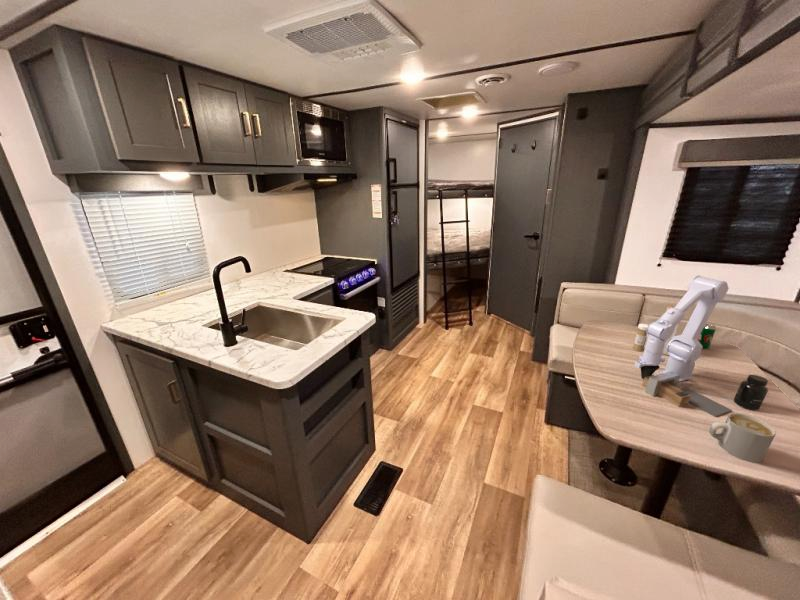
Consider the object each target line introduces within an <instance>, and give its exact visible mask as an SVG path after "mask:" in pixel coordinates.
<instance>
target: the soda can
mask: <svg viewBox="0 0 800 600" xmlns="http://www.w3.org/2000/svg"><path fill="white" fill-rule="evenodd" d="M716 330H717V328H716V325H713V324H711V323H706V324H705V326H704V328H703V330H702V332H701V333H700V335H699V337H698V341H699V342H700V344H701V345H702V346H703V348H702V349H704V350H706V349H709V348H710V346H711V345H712V341H713V338H714V337H715V334H716V333H715V332H716Z"/></svg>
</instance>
